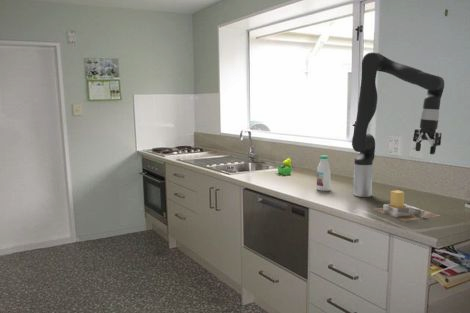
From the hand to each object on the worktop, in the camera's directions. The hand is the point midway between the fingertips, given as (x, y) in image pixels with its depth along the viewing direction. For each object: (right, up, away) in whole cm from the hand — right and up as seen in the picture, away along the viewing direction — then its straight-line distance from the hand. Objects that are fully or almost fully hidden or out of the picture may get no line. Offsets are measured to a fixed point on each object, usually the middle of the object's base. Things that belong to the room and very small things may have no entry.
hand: (424, 152), depth 188 cm
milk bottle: (-40, -21, +40) cm, 60 cm away
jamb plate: (-14, -28, -11) cm, 33 cm away
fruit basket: (-55, -15, +90) cm, 107 cm away
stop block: (-19, -27, -12) cm, 35 cm away
